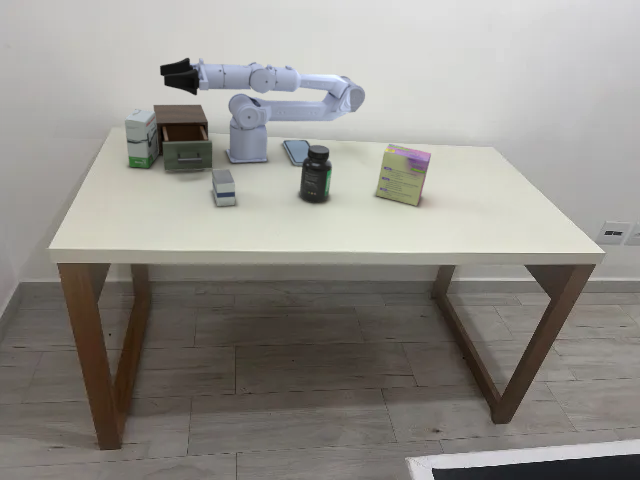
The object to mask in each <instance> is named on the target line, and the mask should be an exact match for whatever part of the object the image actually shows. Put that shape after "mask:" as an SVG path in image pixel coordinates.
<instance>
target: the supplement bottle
mask: <svg viewBox="0 0 640 480" xmlns="http://www.w3.org/2000/svg"><path fill="white" fill-rule="evenodd" d="M307 156H308V157H307V158H305V159H304V161H303V163H302V166H301V173H300V174H301V175H300V185H299V196H300V197H301V199H303V200H304V201H306V202H309V203H314V204H317V203H318V204H319V203H323V202H325V201H327V200H328V198H329V196H330V195H329V194H330V188H331V178H332V170H333V163H332V161H331V159H330V148H329V147H328V146H325V145H321V144H313V145H310V147H309V148H308V153H307Z"/></svg>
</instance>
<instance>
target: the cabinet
mask: <svg viewBox="0 0 640 480" xmlns="http://www.w3.org/2000/svg"><path fill="white" fill-rule="evenodd" d="M153 111H154V112H155V115H156V130H157V144H158V156H163V145H162V142H163V132H162V126H179V125H203V128H204V131H205V133H206V136H207V139H208V140H209V121H208V118H207V116H206V114H205V112H204V108H203V106H202V104H153Z"/></svg>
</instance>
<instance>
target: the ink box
mask: <svg viewBox="0 0 640 480" xmlns="http://www.w3.org/2000/svg"><path fill="white" fill-rule="evenodd" d="M124 128H125V136H126V137H125V138H126V147H127V154H128V156H127V158H128V164H129V167H131V168H141V169H143V168H144V169H149V168H150V167H151V166H152V165H153V163H154V162H155V160H156V159H157V158H158V156H159V151H158V144H157V130H156V115H155V112H154V110H147V109H139V108H138V109H137V108H136V109H134V110H133V111H132V112H131V113H130V114H129V115H127V116H126V117H125V118H124Z"/></svg>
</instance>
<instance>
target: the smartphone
mask: <svg viewBox="0 0 640 480" xmlns="http://www.w3.org/2000/svg"><path fill="white" fill-rule="evenodd" d="M282 145H283V147H284V149H285V151H286V152H287V154H288V157H289V158H290V160H291V162H292V165H294V166H297V167H298V166H299V167H300V166H301V167H302V163H303V161H304V159H305V158H307V157H308V156H307V153H308V148H309V147H310V146H311V144H310V142H309V141H308V140H307V139H284V140H283V141H282Z"/></svg>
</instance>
